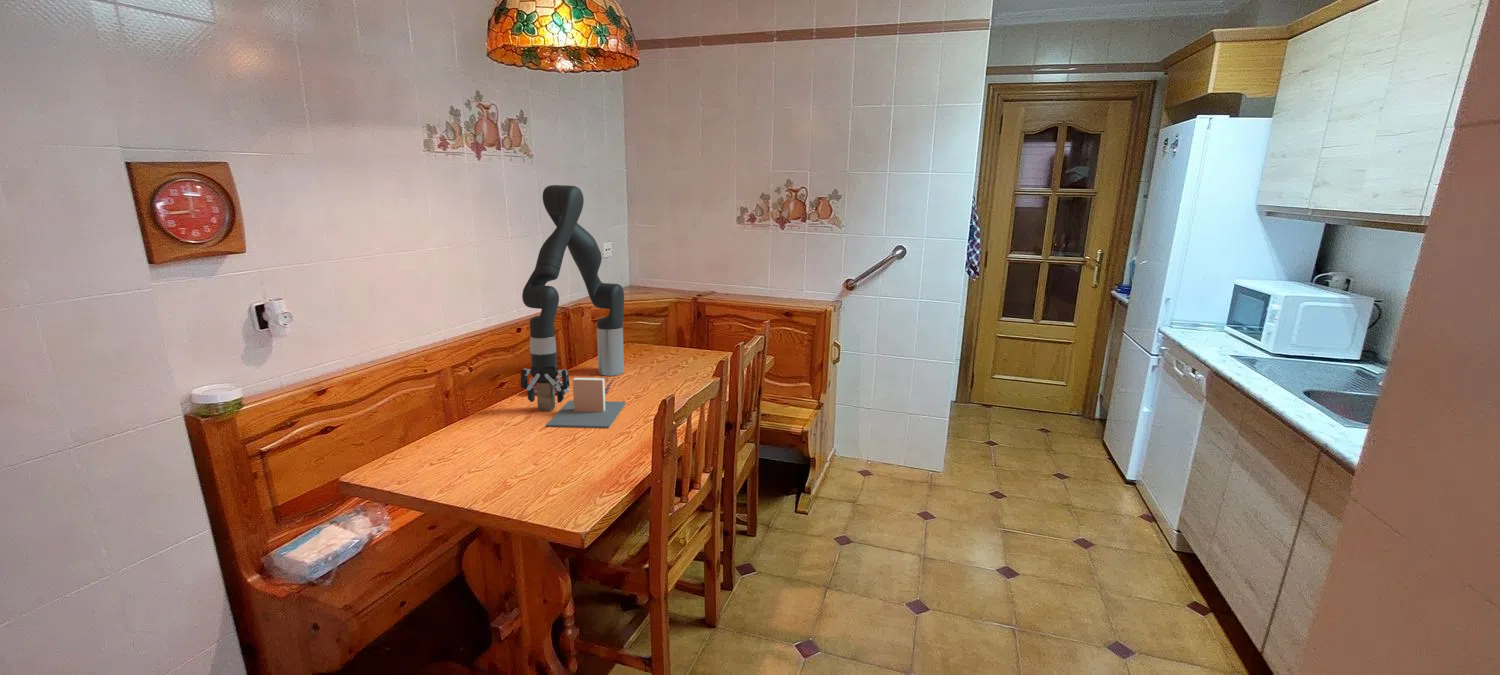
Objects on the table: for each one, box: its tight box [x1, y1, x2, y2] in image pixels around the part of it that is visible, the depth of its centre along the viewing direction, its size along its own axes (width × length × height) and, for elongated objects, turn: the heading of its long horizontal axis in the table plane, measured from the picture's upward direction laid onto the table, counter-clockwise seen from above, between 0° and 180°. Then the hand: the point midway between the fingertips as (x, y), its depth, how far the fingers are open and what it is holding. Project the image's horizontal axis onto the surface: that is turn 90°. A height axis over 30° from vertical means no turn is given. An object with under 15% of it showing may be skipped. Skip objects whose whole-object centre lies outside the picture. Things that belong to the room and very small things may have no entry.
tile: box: [572, 377, 606, 412], centre depth 184 cm, size 2×9×10 cm, turn 89°
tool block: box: [536, 382, 556, 412], centre depth 187 cm, size 4×4×9 cm
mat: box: [545, 400, 626, 429], centre depth 183 cm, size 22×18×1 cm
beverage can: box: [529, 375, 570, 395], centre depth 202 cm, size 6×6×12 cm
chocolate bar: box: [605, 375, 616, 394], centre depth 212 cm, size 7×19×2 cm, turn 1°
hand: (546, 401), depth 187 cm, fingers open, 8 cm apart
